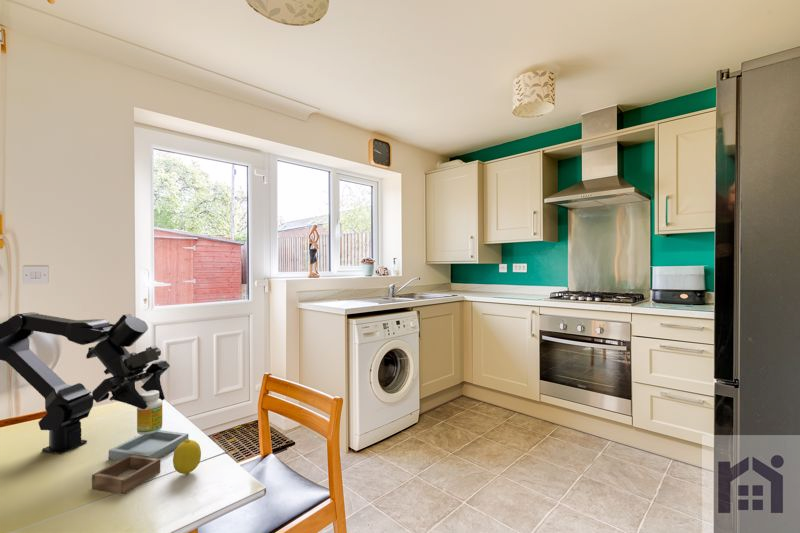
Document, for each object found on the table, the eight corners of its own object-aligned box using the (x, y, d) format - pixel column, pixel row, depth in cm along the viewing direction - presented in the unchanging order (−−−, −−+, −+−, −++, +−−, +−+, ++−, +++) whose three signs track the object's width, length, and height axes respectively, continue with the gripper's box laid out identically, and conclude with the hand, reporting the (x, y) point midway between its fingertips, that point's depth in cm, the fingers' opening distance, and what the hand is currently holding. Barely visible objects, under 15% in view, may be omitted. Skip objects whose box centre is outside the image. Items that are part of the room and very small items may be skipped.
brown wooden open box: (91, 488, 77) (91, 474, 77) (130, 467, 85) (130, 454, 85) (124, 494, 75) (124, 480, 75) (160, 472, 83) (160, 459, 83)
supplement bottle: (153, 435, 91) (153, 396, 90) (131, 435, 90) (131, 396, 90) (166, 425, 96) (167, 389, 96) (146, 425, 96) (146, 389, 96)
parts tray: (108, 459, 89) (108, 450, 89) (152, 436, 101) (152, 429, 101) (148, 465, 86) (148, 456, 86) (188, 441, 98) (188, 433, 98)
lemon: (188, 483, 79) (188, 446, 79) (166, 480, 80) (167, 444, 80) (206, 469, 85) (206, 435, 85) (186, 466, 86) (186, 432, 86)
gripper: (104, 345, 84) (146, 395, 83) (164, 331, 103) (199, 372, 102) (73, 377, 85) (114, 427, 84) (138, 358, 104) (173, 398, 102)
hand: (154, 403), depth 93 cm, fingers closed on supplement bottle, 5 cm apart
